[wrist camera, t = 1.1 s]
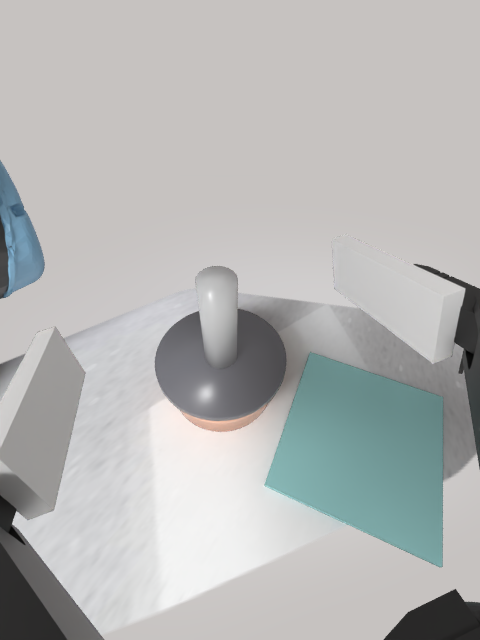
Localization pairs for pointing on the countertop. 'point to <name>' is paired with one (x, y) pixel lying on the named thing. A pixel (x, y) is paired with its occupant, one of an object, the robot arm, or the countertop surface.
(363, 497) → the mat
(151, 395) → the countertop surface
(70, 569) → the countertop surface
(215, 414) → the lid
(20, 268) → the robot arm
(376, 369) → the countertop surface
